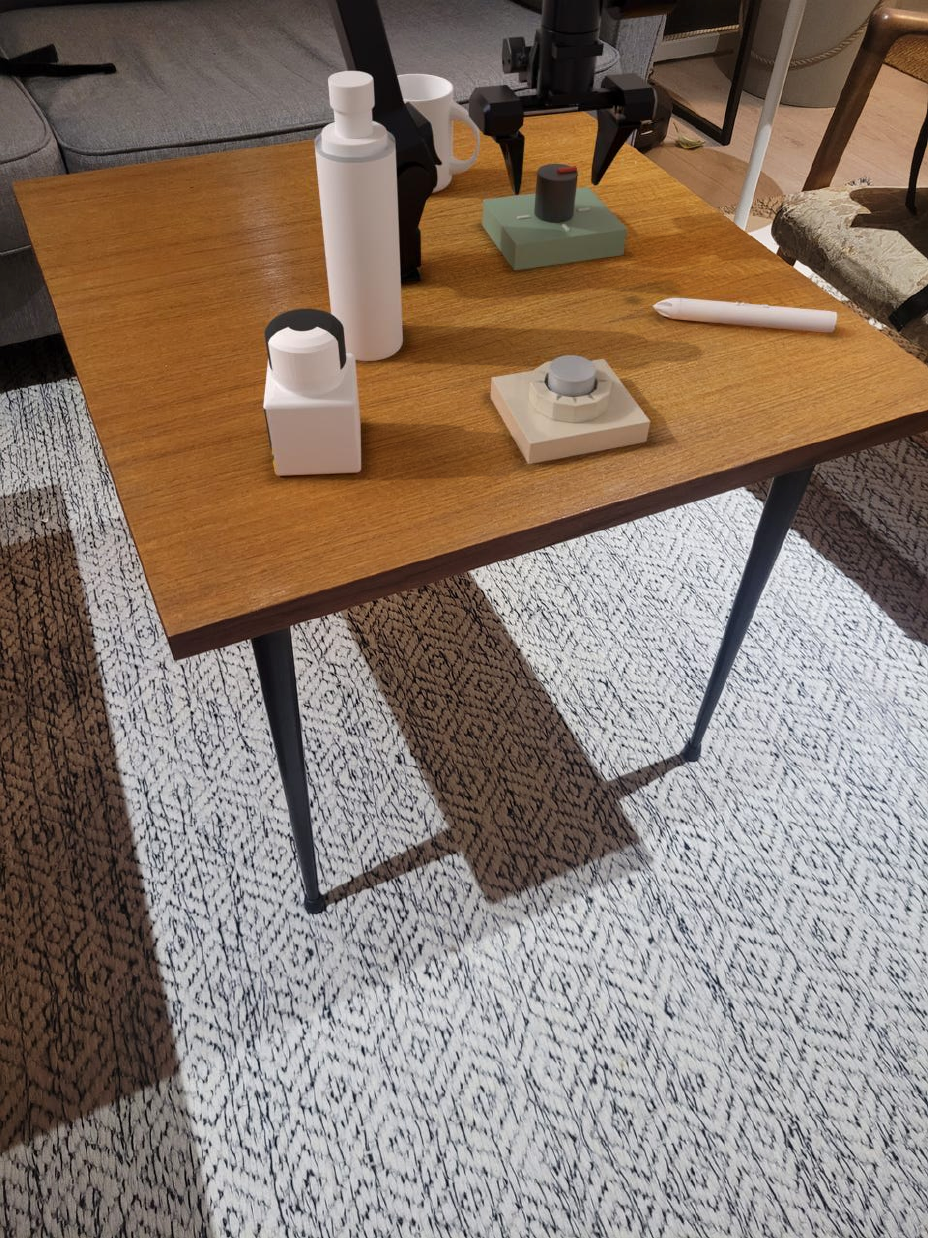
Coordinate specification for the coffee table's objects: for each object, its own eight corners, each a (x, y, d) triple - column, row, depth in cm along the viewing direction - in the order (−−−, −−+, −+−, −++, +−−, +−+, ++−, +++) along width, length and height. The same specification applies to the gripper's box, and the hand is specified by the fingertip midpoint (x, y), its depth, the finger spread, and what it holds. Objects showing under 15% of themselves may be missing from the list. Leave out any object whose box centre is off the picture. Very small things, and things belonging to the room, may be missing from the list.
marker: (650, 321, 93) (654, 299, 91) (650, 310, 95) (654, 289, 93) (831, 337, 92) (839, 315, 90) (828, 326, 93) (836, 304, 91)
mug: (469, 203, 110) (472, 107, 102) (374, 191, 112) (369, 95, 104) (485, 174, 116) (489, 80, 108) (394, 162, 117) (391, 69, 109)
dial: (542, 224, 100) (546, 179, 97) (528, 207, 103) (531, 162, 99) (579, 219, 101) (584, 175, 98) (564, 202, 104) (569, 158, 100)
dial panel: (513, 270, 100) (515, 242, 97) (481, 225, 106) (482, 197, 104) (623, 255, 102) (627, 227, 100) (585, 211, 109) (588, 184, 107)
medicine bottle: (279, 425, 81) (258, 299, 72) (360, 422, 81) (350, 296, 72) (275, 477, 76) (252, 349, 67) (361, 474, 76) (350, 346, 67)
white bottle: (407, 358, 88) (397, 68, 69) (337, 364, 87) (308, 72, 68) (397, 321, 92) (386, 39, 73) (331, 327, 91) (302, 42, 73)
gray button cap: (557, 402, 78) (559, 384, 76) (540, 376, 80) (542, 358, 79) (601, 394, 78) (603, 376, 77) (583, 368, 81) (585, 351, 80)
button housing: (528, 464, 78) (531, 425, 75) (490, 397, 84) (492, 359, 81) (646, 441, 80) (654, 403, 77) (600, 378, 86) (606, 340, 83)
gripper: (624, -7, 95) (604, 150, 107) (453, 6, 91) (451, 167, 103) (672, 27, 88) (645, 190, 100) (489, 42, 84) (483, 211, 96)
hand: (555, 188), depth 100 cm, fingers open, 9 cm apart
